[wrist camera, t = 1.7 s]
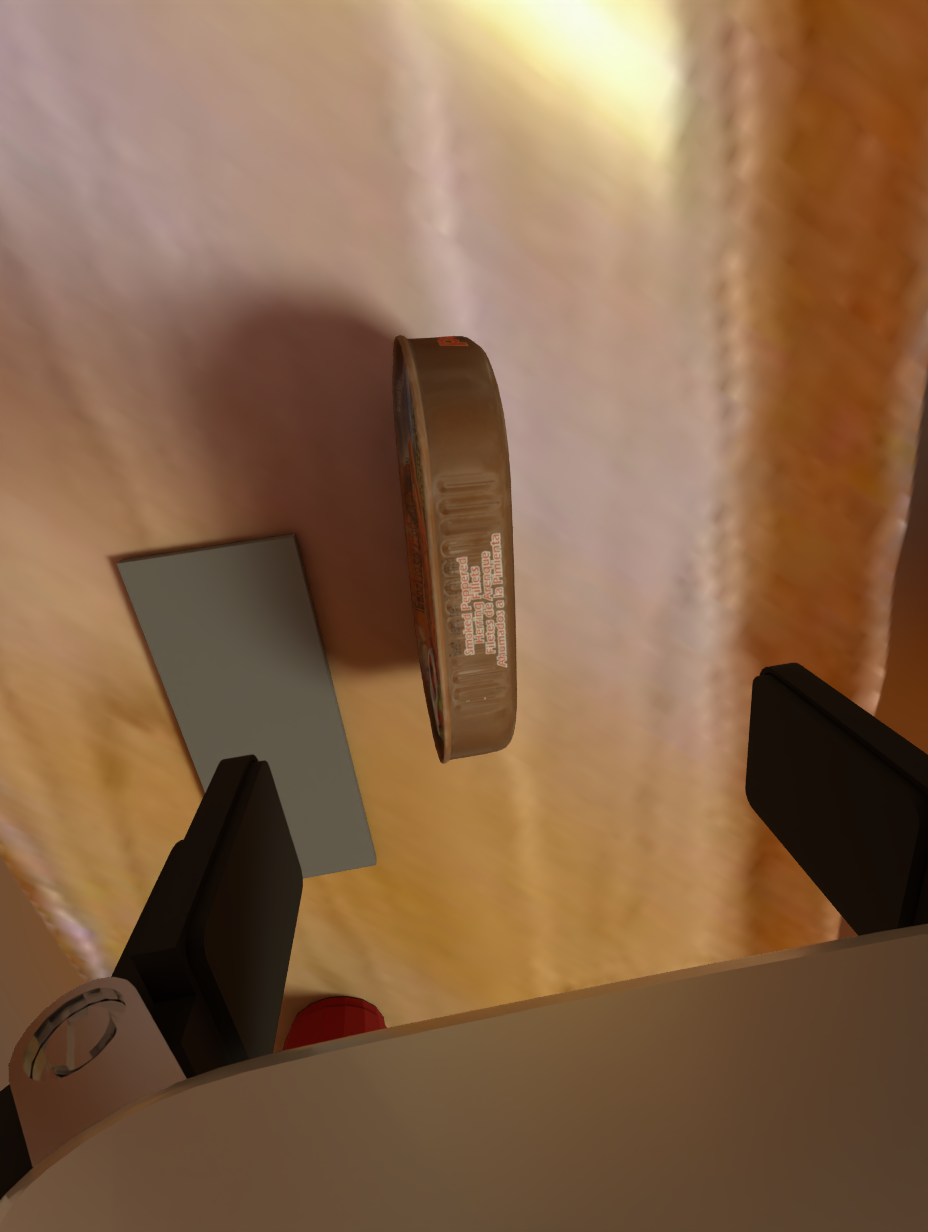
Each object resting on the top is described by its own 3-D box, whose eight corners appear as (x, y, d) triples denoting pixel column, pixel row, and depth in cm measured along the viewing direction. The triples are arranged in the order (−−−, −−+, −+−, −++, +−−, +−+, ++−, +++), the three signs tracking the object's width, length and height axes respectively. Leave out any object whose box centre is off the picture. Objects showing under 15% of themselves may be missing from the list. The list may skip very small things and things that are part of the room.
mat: (121, 560, 24) (116, 563, 23) (295, 533, 24) (293, 536, 24) (244, 881, 31) (242, 889, 31) (376, 857, 31) (376, 865, 31)
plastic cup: (218, 990, 34) (137, 1287, 23) (402, 949, 34) (409, 1222, 24) (274, 1096, 38) (227, 1389, 27) (436, 1059, 39) (454, 1332, 28)
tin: (386, 341, 22) (384, 328, 14) (470, 336, 22) (513, 321, 14) (420, 690, 28) (432, 815, 20) (486, 683, 28) (523, 804, 20)
